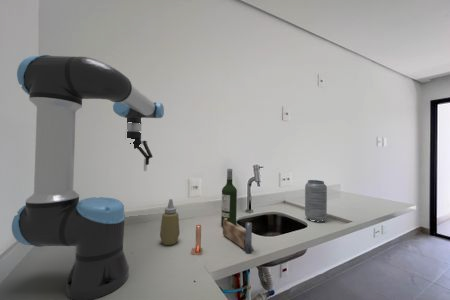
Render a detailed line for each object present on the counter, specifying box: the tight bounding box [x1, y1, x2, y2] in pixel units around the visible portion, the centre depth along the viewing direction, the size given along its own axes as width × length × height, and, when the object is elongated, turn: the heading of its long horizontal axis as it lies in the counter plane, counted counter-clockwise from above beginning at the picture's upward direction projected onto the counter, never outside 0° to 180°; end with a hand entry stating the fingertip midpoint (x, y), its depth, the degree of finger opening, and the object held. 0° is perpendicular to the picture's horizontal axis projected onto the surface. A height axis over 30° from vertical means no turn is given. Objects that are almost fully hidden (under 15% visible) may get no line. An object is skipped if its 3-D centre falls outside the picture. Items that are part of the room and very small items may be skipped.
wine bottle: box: [220, 168, 238, 228], centre depth 102 cm, size 8×8×30 cm
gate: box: [222, 218, 246, 249], centre depth 83 cm, size 16×2×7 cm, turn 32°
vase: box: [304, 179, 328, 221], centre depth 115 cm, size 12×12×23 cm
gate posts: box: [190, 221, 255, 256], centre depth 76 cm, size 24×7×11 cm, turn 92°
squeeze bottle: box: [159, 199, 181, 246], centre depth 82 cm, size 8×8×18 cm
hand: (132, 170), depth 105 cm, fingers open, 13 cm apart
